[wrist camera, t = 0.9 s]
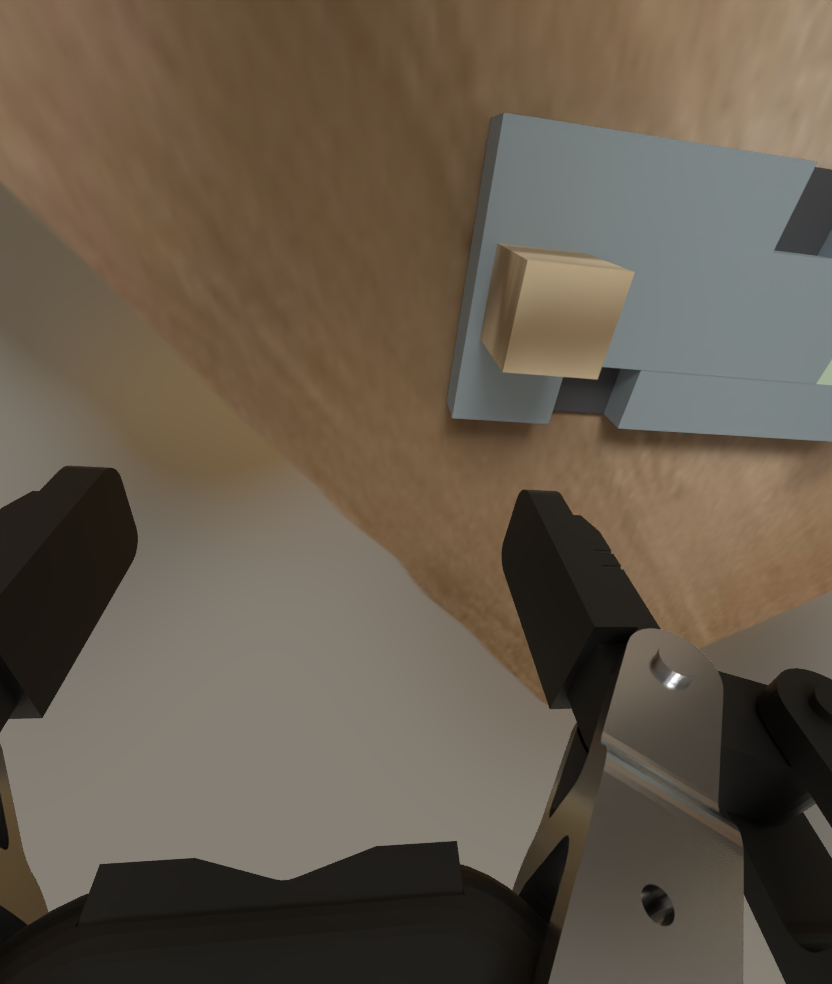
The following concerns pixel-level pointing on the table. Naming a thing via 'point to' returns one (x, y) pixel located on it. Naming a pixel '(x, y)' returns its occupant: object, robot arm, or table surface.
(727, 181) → the plate
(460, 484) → the table surface
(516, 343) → the beech block
